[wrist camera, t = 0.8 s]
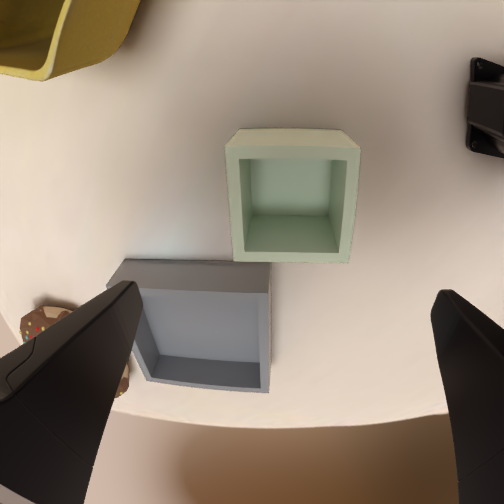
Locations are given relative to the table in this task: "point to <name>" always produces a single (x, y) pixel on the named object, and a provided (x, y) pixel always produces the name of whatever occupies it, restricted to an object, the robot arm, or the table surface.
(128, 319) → the robot arm
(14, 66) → the flower pot
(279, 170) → the small crate
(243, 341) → the big crate
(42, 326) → the donut
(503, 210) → the table surface
